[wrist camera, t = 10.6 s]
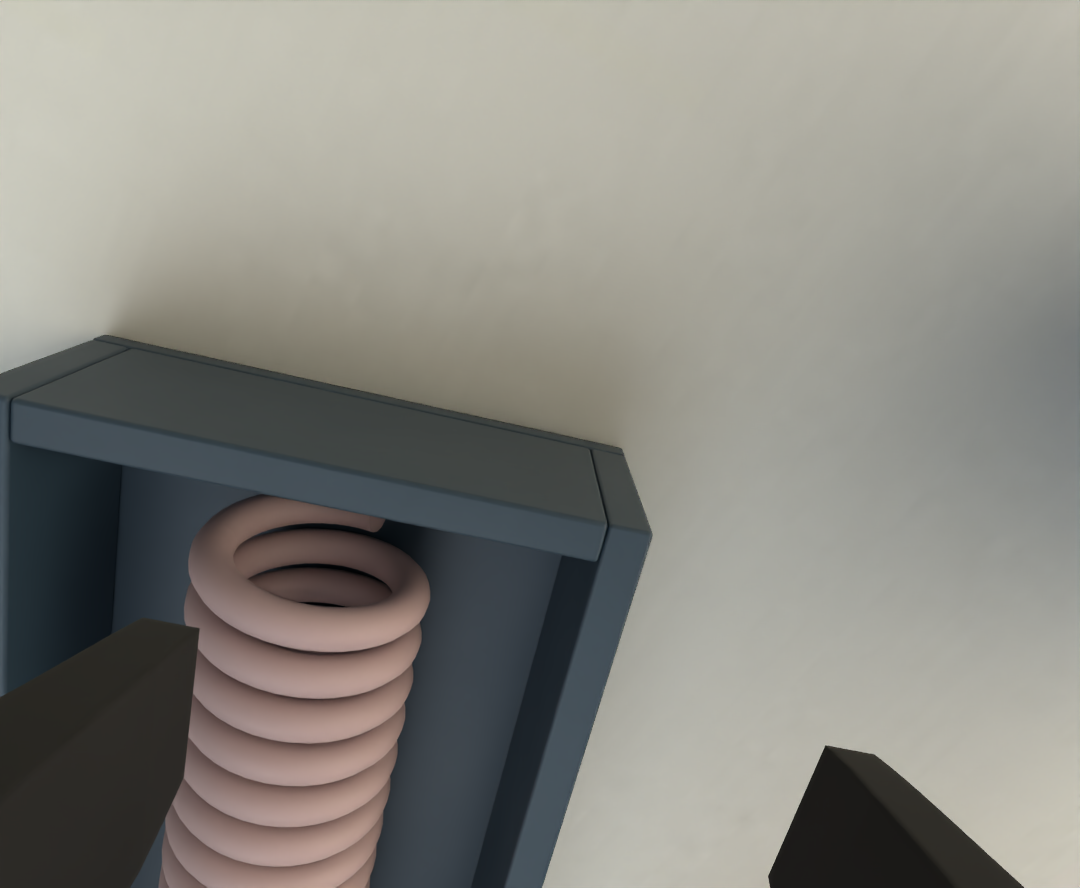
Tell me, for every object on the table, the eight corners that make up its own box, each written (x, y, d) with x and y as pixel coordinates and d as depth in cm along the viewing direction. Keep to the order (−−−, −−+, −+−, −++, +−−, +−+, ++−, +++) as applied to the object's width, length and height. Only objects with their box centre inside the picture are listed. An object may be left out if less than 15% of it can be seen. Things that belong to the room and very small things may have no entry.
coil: (306, 1229, 19) (441, 607, 13) (102, 1234, 18) (153, 569, 12) (331, 1028, 23) (441, 496, 17) (169, 1024, 22) (229, 461, 17)
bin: (622, 447, 17) (654, 533, 13) (441, 1078, 24) (423, 1269, 20) (104, 333, 16) (-44, 386, 12) (68, 1027, 23) (-35, 1217, 19)
